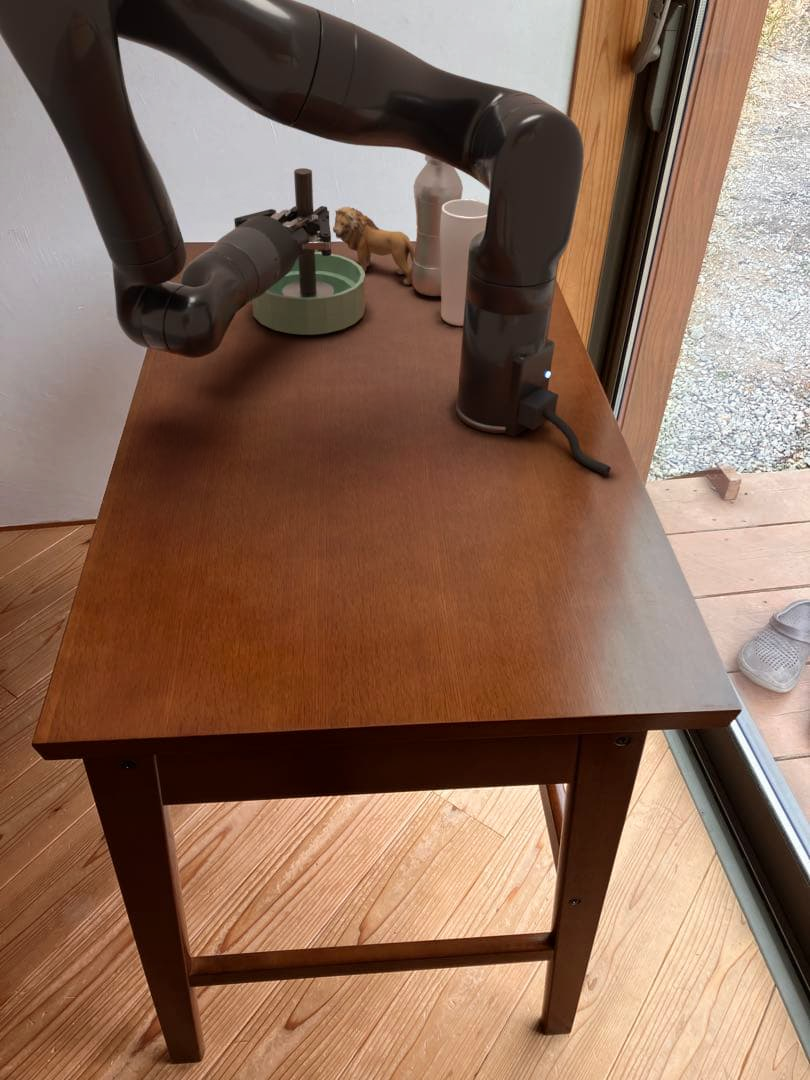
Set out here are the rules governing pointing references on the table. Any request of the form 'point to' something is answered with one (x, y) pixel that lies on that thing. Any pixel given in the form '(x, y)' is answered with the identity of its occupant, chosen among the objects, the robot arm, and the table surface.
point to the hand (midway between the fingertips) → (314, 212)
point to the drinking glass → (457, 253)
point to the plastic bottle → (431, 221)
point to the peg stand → (307, 266)
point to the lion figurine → (372, 240)
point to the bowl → (315, 299)
